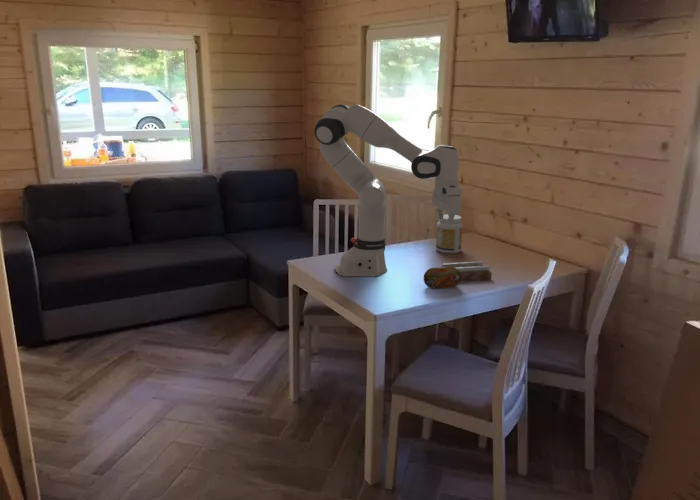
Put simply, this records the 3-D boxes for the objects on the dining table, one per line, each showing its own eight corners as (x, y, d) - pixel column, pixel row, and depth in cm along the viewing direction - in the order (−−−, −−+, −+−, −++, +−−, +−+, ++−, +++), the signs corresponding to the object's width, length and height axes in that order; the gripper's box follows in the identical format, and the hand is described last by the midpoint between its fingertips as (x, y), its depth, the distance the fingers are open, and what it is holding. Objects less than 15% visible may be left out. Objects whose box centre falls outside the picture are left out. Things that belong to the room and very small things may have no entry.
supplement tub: (449, 246, 299) (451, 212, 294) (466, 251, 289) (468, 217, 284) (430, 249, 292) (432, 215, 288) (447, 255, 283) (449, 220, 278)
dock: (450, 282, 246) (451, 270, 244) (439, 273, 257) (440, 262, 256) (491, 279, 250) (492, 268, 248) (478, 270, 261) (479, 259, 260)
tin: (424, 289, 237) (425, 269, 234) (422, 287, 240) (423, 267, 237) (460, 287, 240) (462, 267, 237) (457, 285, 243) (459, 265, 240)
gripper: (428, 183, 243) (428, 216, 247) (449, 191, 224) (447, 227, 228) (443, 182, 245) (442, 215, 249) (464, 190, 226) (463, 226, 230)
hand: (445, 221), depth 238 cm, fingers open, 8 cm apart
